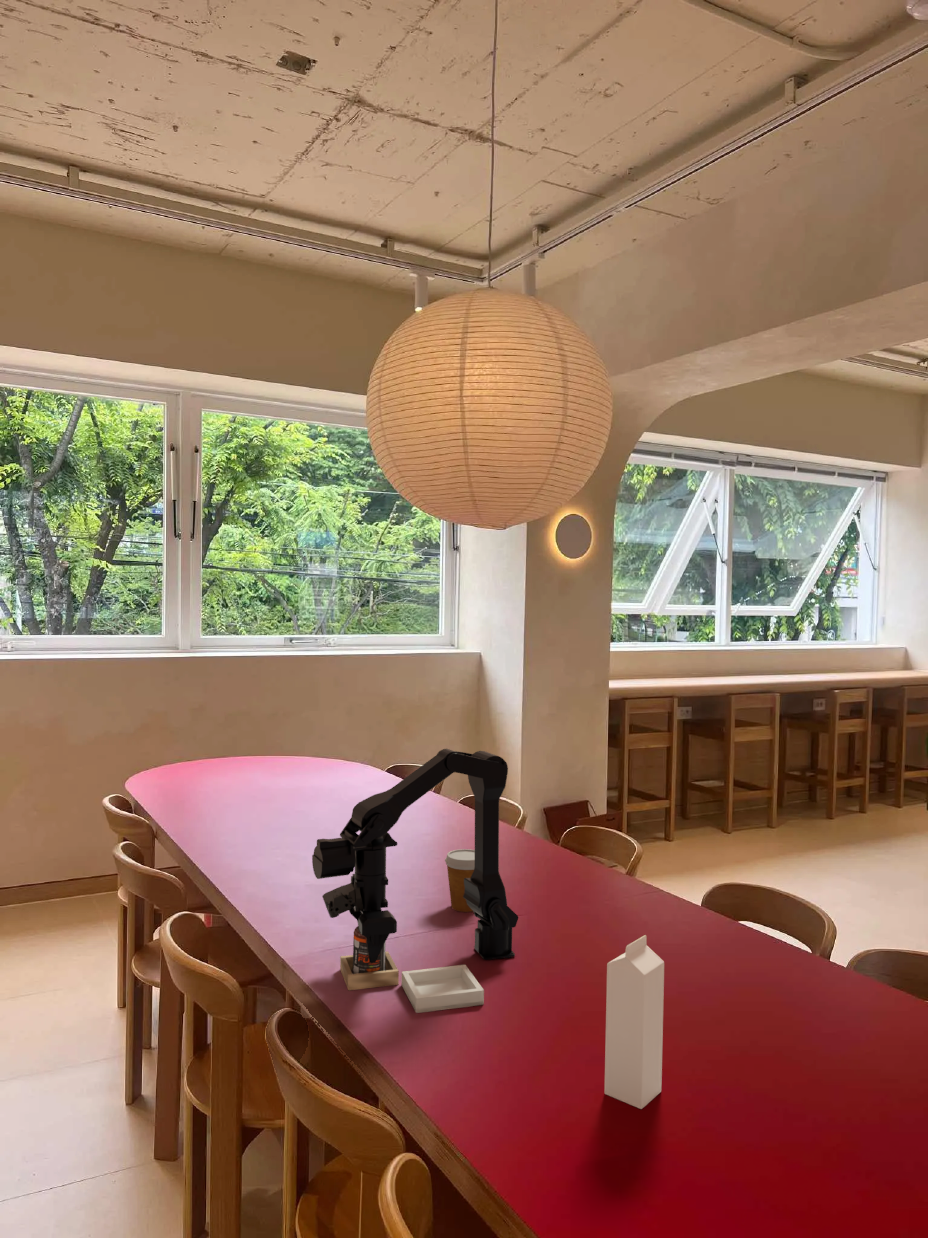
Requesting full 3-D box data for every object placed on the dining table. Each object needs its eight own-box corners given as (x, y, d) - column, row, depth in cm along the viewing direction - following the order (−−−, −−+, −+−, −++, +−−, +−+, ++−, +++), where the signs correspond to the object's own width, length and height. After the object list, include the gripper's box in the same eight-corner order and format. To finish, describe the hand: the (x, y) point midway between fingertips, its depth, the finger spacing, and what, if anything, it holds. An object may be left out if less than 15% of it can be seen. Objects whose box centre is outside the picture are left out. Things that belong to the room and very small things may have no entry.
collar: (387, 964, 170) (388, 951, 170) (398, 984, 161) (398, 971, 161) (340, 969, 167) (340, 956, 167) (348, 990, 158) (348, 976, 158)
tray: (465, 978, 164) (465, 964, 164) (483, 1004, 154) (484, 990, 154) (401, 985, 161) (401, 971, 161) (416, 1013, 150) (416, 998, 150)
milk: (661, 1092, 128) (666, 940, 127) (641, 1110, 123) (646, 952, 122) (624, 1077, 131) (628, 929, 131) (602, 1094, 127) (607, 940, 126)
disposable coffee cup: (482, 916, 196) (483, 862, 195) (440, 912, 198) (440, 859, 197) (489, 902, 205) (490, 850, 205) (449, 898, 207) (450, 847, 207)
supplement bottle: (355, 985, 160) (355, 923, 160) (350, 972, 166) (351, 912, 166) (387, 982, 162) (388, 920, 162) (382, 969, 168) (382, 909, 167)
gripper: (319, 859, 170) (318, 940, 170) (334, 891, 152) (333, 981, 153) (376, 855, 173) (375, 935, 174) (398, 886, 155) (396, 974, 156)
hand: (369, 955), depth 164 cm, fingers closed on supplement bottle, 6 cm apart
